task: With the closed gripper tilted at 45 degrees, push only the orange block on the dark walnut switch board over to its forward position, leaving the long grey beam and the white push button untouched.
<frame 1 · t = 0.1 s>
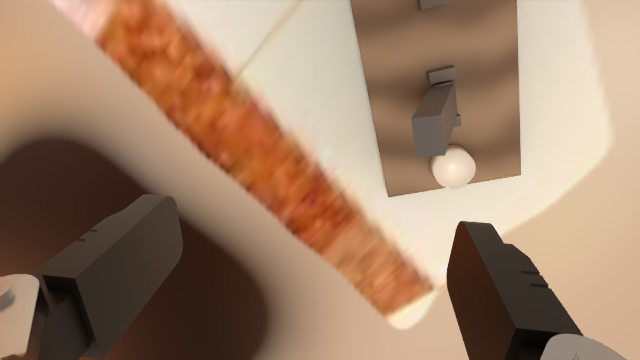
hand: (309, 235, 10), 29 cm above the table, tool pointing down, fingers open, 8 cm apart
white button: (452, 166, 35), point 3 cm above the table, slide at 0.0 cm
long grey beam: (438, 113, 29), point 8 cm above the table, hinge at -18.0°
switch board: (436, 73, 35), on the table
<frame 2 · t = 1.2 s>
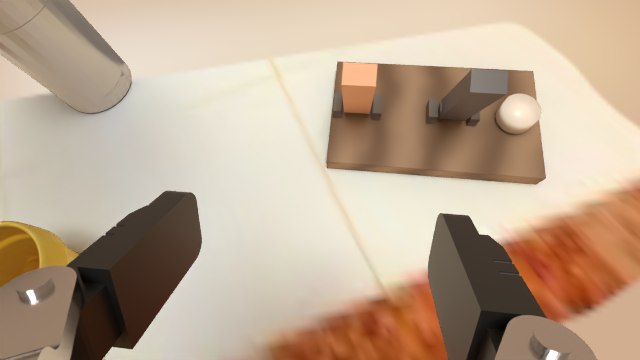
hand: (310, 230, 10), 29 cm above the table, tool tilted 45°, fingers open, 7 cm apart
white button: (517, 113, 39), point 3 cm above the table, slide at 0.0 cm
orange block: (358, 93, 36), point 8 cm above the table, hinge at -18.0°
plant pot: (70, 285, 39), on the table
long grey beam: (466, 99, 35), point 8 cm above the table, hinge at -18.0°
switch board: (428, 123, 43), on the table
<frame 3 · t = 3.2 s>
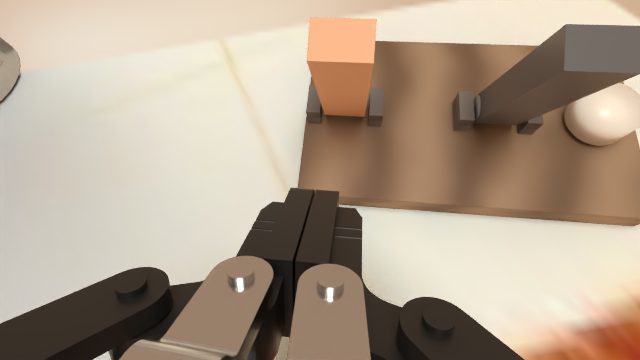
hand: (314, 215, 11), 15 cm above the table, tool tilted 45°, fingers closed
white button: (603, 113, 24), point 3 cm above the table, slide at 0.0 cm
orange block: (344, 81, 21), point 8 cm above the table, hinge at -18.0°
long grey beam: (531, 90, 20), point 8 cm above the table, hinge at -18.0°
switch board: (455, 129, 28), on the table
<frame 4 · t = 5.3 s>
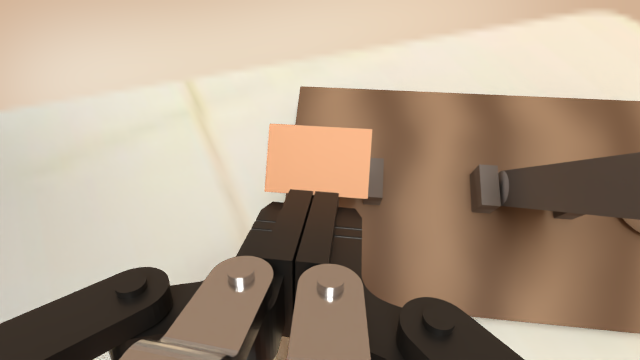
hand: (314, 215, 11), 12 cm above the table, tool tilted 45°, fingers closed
orange block: (329, 171, 16), point 8 cm above the table, hinge at -17.9°, touching gripper
long grey beam: (586, 189, 15), point 8 cm above the table, hinge at -18.0°
switch board: (472, 203, 23), on the table
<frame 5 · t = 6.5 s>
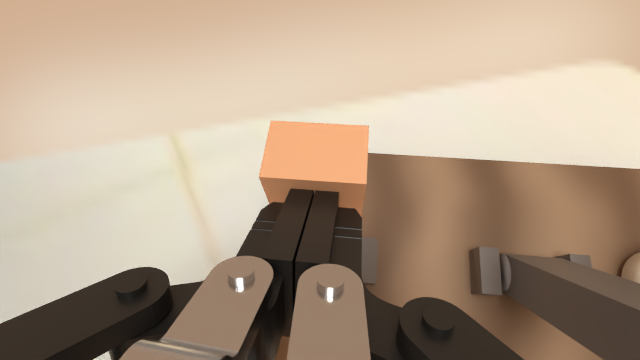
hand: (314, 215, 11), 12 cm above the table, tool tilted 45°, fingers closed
orange block: (322, 224, 15), point 8 cm above the table, hinge at 9.8°, touching gripper
long grey beam: (596, 305, 13), point 8 cm above the table, hinge at -18.0°
switch board: (471, 275, 21), on the table
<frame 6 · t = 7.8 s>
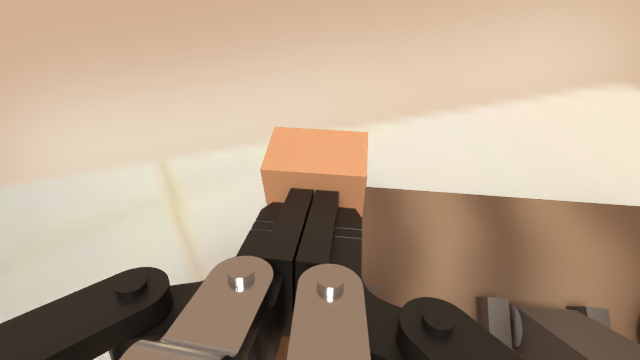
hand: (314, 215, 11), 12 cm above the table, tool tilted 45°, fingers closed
orange block: (320, 254, 14), point 7 cm above the table, hinge at 25.5°, touching gripper
switch board: (478, 320, 20), on the table
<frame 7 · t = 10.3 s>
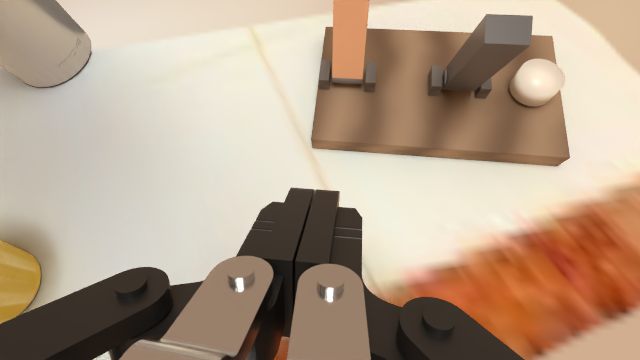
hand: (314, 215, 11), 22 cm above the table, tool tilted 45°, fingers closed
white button: (536, 82, 33), point 3 cm above the table, slide at 0.0 cm
orange block: (350, 25, 31), point 7 cm above the table, hinge at 25.7°
plant pot: (8, 285, 33), on the table
long grey beam: (477, 61, 29), point 8 cm above the table, hinge at -18.0°
switch board: (431, 97, 37), on the table
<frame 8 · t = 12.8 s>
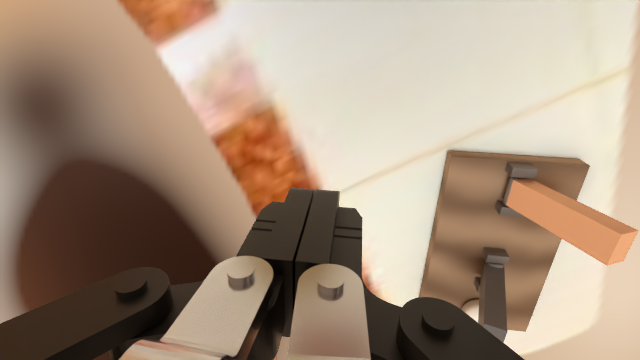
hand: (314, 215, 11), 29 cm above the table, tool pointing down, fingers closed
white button: (479, 317, 44), point 3 cm above the table, slide at 0.0 cm
orange block: (557, 213, 33), point 7 cm above the table, hinge at 25.7°
long grey beam: (491, 298, 37), point 8 cm above the table, hinge at -18.0°
switch board: (487, 243, 43), on the table
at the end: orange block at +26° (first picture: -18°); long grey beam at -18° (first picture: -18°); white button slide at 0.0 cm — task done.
